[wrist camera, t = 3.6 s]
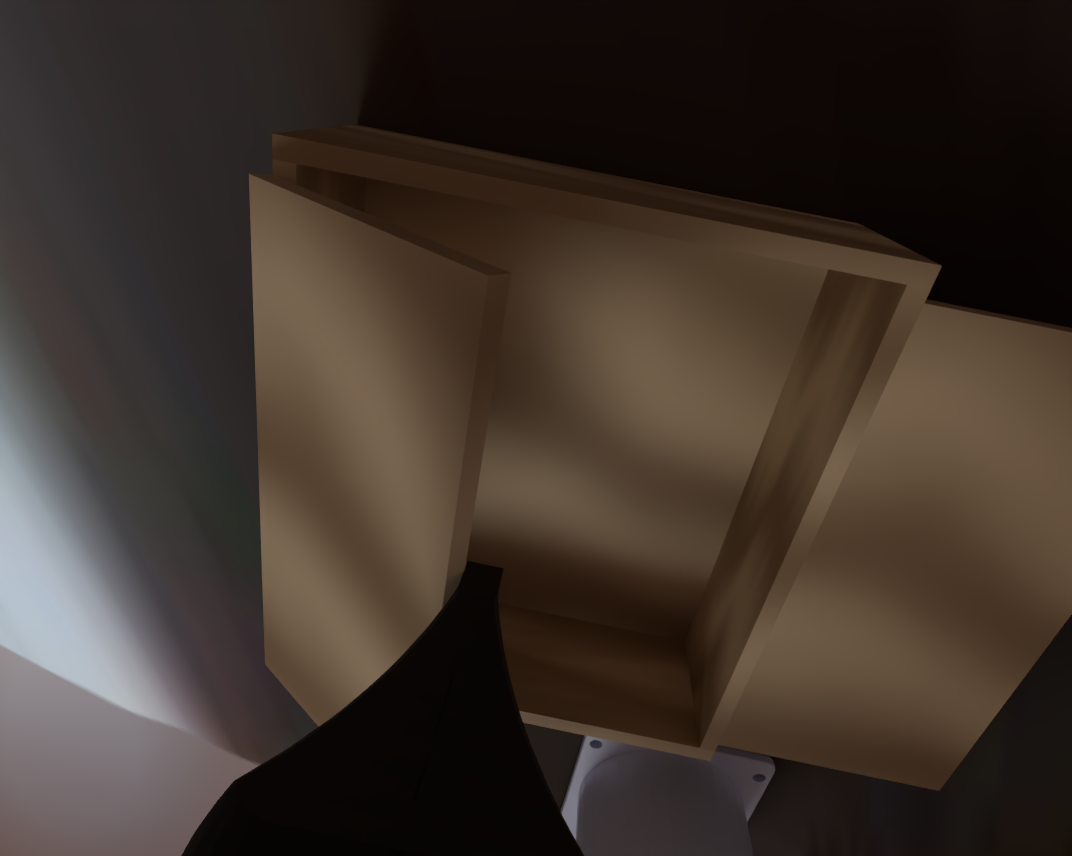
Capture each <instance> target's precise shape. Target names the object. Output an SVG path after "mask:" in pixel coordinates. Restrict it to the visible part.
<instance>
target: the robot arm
mask: <svg viewBox="0 0 1072 856" xmlns="http://www.w3.org/2000/svg"><path fill="white" fill-rule="evenodd" d="M503 569H504V568H500V567H495V566H490V565H485V564H481V563H476V562H471V561H468V562H467V564H466V567H465V571H464V572H463V574H462V577H461V580H460V583H459V586H458V587H457V589H456V590H455V592H454V593H453V595H452V596H451V597H450V599H449V600H448V602H447V603H446V604H445V606H444V607H443V608H442V609H441V611H440V612H439V613H438V614H437V616H436V617H435V618H434V620H433V621H432V622H431V623H430V625H429V626H428V627H427V628H426V629H425V631H424V632H423V633H422V634H421V635H420V636H419V637H418V638H417V639H416V640H415V642H414V643H413V644H412V645H411V646H410V647H409V648H408V649H407V650H406V651H405V653H404V654H403V655H402V656H401V657H400V658H399V659H398V660H397V661H396V662H395V663H394V664H393V665H392V666H391V667H390V668H389V669H388V670H387V671H386V672H385V673H384V674H382V675H381V676H380V677H379V678H378V679H377V680H376V681H375V682H374V683H373V684H372V685H370V686H369V687H368V688H367V689H366V690H365V691H364V692H362V693H361V694H360V695H359V696H358V697H356V698H355V699H354V700H353V701H352V702H350V703H349V704H348V705H347V706H346V707H344V708H343V709H342V710H341V711H339V712H338V713H337V714H336V715H334V716H333V717H332V718H330V719H329V720H328V721H326V722H325V723H323V724H322V725H320V726H319V727H318V728H316V729H315V730H313V731H312V732H311V733H309V734H308V735H306V736H305V737H304V738H302V739H301V740H299V741H298V742H296V743H295V744H294V745H292V746H291V747H289V748H288V749H286V750H284V751H283V752H281V753H280V754H278V755H276V756H275V757H273V758H271V759H270V760H268V761H266V762H265V763H263V764H261V765H260V766H258V767H256V768H255V769H253V770H251V771H250V772H248V773H247V774H245V775H243V776H241V777H240V778H238V779H237V780H235V781H234V782H233V783H232V784H231V785H230V787H229V788H228V789H227V790H226V791H225V792H224V794H223V795H222V796H221V797H220V799H219V800H218V801H217V802H216V804H215V805H214V806H213V808H212V809H211V810H210V812H209V813H208V814H207V816H206V817H205V819H204V820H203V821H202V823H201V824H200V826H199V827H198V828H197V830H196V832H195V833H194V835H193V836H192V838H191V840H190V841H189V843H188V845H187V847H186V848H185V850H184V852H183V854H182V856H753V851H752V846H751V840H750V835H749V830H748V825H747V822H748V820H749V818H750V816H751V815H752V813H753V811H754V809H755V807H756V805H757V804H758V802H759V800H760V798H761V796H762V794H763V793H764V791H765V789H766V787H767V785H768V783H769V782H770V780H771V778H772V776H773V774H774V772H775V765H774V762H773V759H771V758H770V757H768V756H766V755H761V754H756V753H752V752H747V751H742V750H737V749H732V748H727V747H723V746H717V749H716V751H715V753H714V755H713V757H712V759H711V761H707V760H702V759H697V758H692V757H688V756H683V755H678V754H673V753H668V752H663V751H659V750H654V749H649V748H644V747H639V746H634V745H630V744H625V743H620V742H615V741H610V740H605V739H601V738H596V737H591V736H586V735H584V738H583V741H582V745H581V748H580V751H579V754H578V757H577V760H576V764H575V767H574V770H573V773H572V776H571V779H570V783H569V786H568V789H567V792H566V795H565V798H564V802H563V805H562V808H561V811H560V810H559V808H558V806H557V804H556V802H555V799H554V797H553V795H552V793H551V791H550V789H549V787H548V785H547V782H546V780H545V778H544V775H543V773H542V770H541V768H540V766H539V763H538V761H537V758H536V756H535V754H534V751H533V749H532V747H531V744H530V741H529V738H528V735H527V733H526V730H525V727H524V724H523V721H522V718H521V715H520V712H519V708H518V705H517V702H516V698H515V695H514V691H513V687H512V683H511V679H510V675H509V671H508V666H507V662H506V657H505V651H504V646H503V639H502V633H501V626H500V617H499V604H498V594H499V589H500V584H501V579H502V574H503Z"/></svg>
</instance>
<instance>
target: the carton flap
mask: <svg viewBox="0 0 1072 856" xmlns="http://www.w3.org/2000/svg"><path fill="white" fill-rule="evenodd" d="M249 189H250V219H251V249H252V280H253V310H254V340H255V371H256V401H257V431H258V461H259V492H260V522H261V552H262V583H263V613H264V643H265V665H266V666H267V667H268V668H269V669H270V670H271V672H272V673H273V674H274V675H275V676H276V677H277V679H278V680H279V681H280V682H281V683H282V684H283V686H284V687H285V688H286V689H287V690H288V691H289V693H290V694H291V695H292V696H293V697H294V698H295V700H296V701H297V702H298V703H299V704H300V705H301V707H302V708H303V709H304V710H305V711H306V712H307V714H308V715H309V716H310V717H311V718H312V719H313V721H314V722H315V723H316V724H317V725H318V726H320V725H322V724H323V723H325V722H326V721H328V720H329V719H330V718H332V717H333V716H334V715H336V714H337V713H338V712H339V711H341V710H342V709H343V708H344V707H346V706H347V705H348V704H349V703H350V702H352V701H353V700H354V699H355V698H356V697H358V696H359V695H360V694H361V693H362V692H364V691H365V690H366V689H367V688H368V687H369V686H370V685H372V684H373V683H374V682H375V681H376V680H377V679H378V678H379V677H380V676H381V675H382V674H384V673H385V672H386V671H387V670H388V669H389V668H390V667H391V666H392V665H393V664H394V663H395V662H396V661H397V660H398V659H399V658H400V657H401V656H402V655H403V654H404V653H405V651H406V650H407V649H408V648H409V647H410V646H411V645H412V644H413V643H414V642H415V640H416V639H417V638H418V637H419V636H420V635H421V634H422V633H423V632H424V631H425V629H426V628H427V627H428V626H429V625H430V623H431V622H432V621H433V620H434V618H435V617H436V616H437V614H438V613H439V612H440V611H441V609H442V608H443V607H444V606H445V604H446V603H447V602H448V600H449V599H450V597H451V596H452V595H453V593H454V592H455V590H456V589H457V587H458V586H459V583H460V580H461V577H462V574H463V572H464V571H465V566H466V560H467V553H468V547H469V540H470V534H471V528H472V521H473V515H474V508H475V502H476V495H477V489H478V483H479V476H480V470H481V463H482V457H483V450H484V444H485V438H486V431H487V425H488V418H489V412H490V405H491V399H492V393H493V386H494V380H495V373H496V367H497V361H498V354H499V348H500V341H501V335H502V328H503V322H504V316H505V309H506V303H507V296H508V290H509V283H510V277H511V273H509V272H507V271H505V270H502V269H500V268H497V267H495V266H492V265H490V264H488V263H485V262H483V261H480V260H478V259H475V258H473V257H471V256H468V255H466V254H463V253H461V252H459V251H456V250H454V249H451V248H449V247H446V246H444V245H442V244H439V243H437V242H434V241H432V240H429V239H427V238H425V237H422V236H420V235H417V234H415V233H412V232H410V231H408V230H405V229H403V228H400V227H398V226H396V225H393V224H391V223H388V222H386V221H383V220H381V219H379V218H376V217H374V216H371V215H369V214H366V213H364V212H362V211H359V210H357V209H354V208H352V207H349V206H347V205H345V204H342V203H340V202H337V201H335V200H333V199H330V198H328V197H325V196H323V195H320V194H318V193H316V192H313V191H311V190H308V189H306V188H303V187H301V186H299V185H296V184H294V183H291V182H289V181H286V180H284V179H282V178H279V177H277V176H274V175H272V174H249Z"/></svg>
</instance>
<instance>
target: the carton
mask: <svg viewBox="0 0 1072 856" xmlns="http://www.w3.org/2000/svg"><path fill="white" fill-rule="evenodd" d="M272 148H273V175H274V176H277V177H279V178H282V179H284V180H286V181H289V182H291V183H294V184H296V185H299V186H301V187H303V188H306V189H308V190H311V191H313V192H316V193H318V194H320V195H323V196H325V197H328V198H330V199H333V200H335V201H337V202H340V203H342V204H345V205H347V206H349V207H352V208H354V209H357V210H359V211H362V212H364V213H366V214H369V215H371V216H374V217H376V218H379V219H381V220H383V221H386V222H388V223H391V224H393V225H396V226H398V227H400V228H403V229H405V230H408V231H410V232H412V233H415V234H417V235H420V236H422V237H425V238H427V239H429V240H432V241H434V242H437V243H439V244H442V245H444V246H446V247H449V248H451V249H454V250H456V251H459V252H461V253H463V254H466V255H468V256H471V257H473V258H475V259H478V260H480V261H483V262H485V263H488V264H490V265H492V266H495V267H497V268H500V269H502V270H505V271H507V272H509V273H511V277H510V283H509V290H508V296H507V303H506V309H505V316H504V322H503V328H502V335H501V341H500V348H499V354H498V361H497V367H496V373H495V380H494V386H493V393H492V399H491V405H490V412H489V418H488V425H487V431H486V438H485V444H484V450H483V457H482V463H481V470H480V476H479V483H478V489H477V495H476V502H475V508H474V515H473V521H472V528H471V534H470V540H469V547H468V553H467V560H466V564H467V562H468V561H471V562H476V563H481V564H485V565H490V566H495V567H500V568H504V569H503V574H502V579H501V584H500V589H499V594H498V604H499V617H500V626H501V633H502V639H503V646H504V651H505V657H506V662H507V666H508V671H509V675H510V679H511V683H512V687H513V691H514V695H515V698H516V702H517V705H518V708H519V712H520V715H521V718H522V721H523V723H528V724H533V725H538V726H543V727H547V728H552V729H557V730H562V731H567V732H572V733H576V734H581V735H586V736H591V737H596V738H601V739H605V740H610V741H615V742H620V743H625V744H630V745H634V746H639V747H644V748H649V749H654V750H659V751H663V752H668V753H673V754H678V755H683V756H688V757H692V758H697V759H702V760H707V761H711V759H712V757H713V755H714V753H715V751H716V749H717V746H718V745H720V746H725V747H730V748H735V749H740V750H744V751H749V752H754V753H759V754H764V755H769V756H773V757H778V758H783V759H788V760H793V761H798V762H803V763H807V764H812V765H817V766H822V767H827V768H832V769H836V770H841V771H846V772H851V773H856V774H861V775H866V776H870V777H875V778H880V779H885V780H890V781H895V782H899V783H904V784H909V785H914V786H919V787H924V788H928V789H933V790H938V791H939V790H940V789H941V788H942V786H943V785H944V784H945V782H946V781H947V780H948V778H949V777H950V776H951V774H952V773H953V772H954V770H955V769H956V768H957V766H958V765H959V764H960V762H961V761H962V760H963V758H964V757H965V756H966V754H967V753H968V752H969V750H970V749H971V748H972V746H973V745H974V744H975V742H976V741H977V740H978V738H979V737H980V736H981V734H982V733H983V732H984V730H985V729H986V728H987V726H988V725H989V724H990V722H991V721H992V720H993V718H994V717H995V716H996V714H997V713H998V712H999V710H1000V709H1001V708H1002V706H1003V705H1004V704H1005V702H1006V701H1007V700H1008V698H1009V697H1010V696H1011V694H1012V693H1013V692H1014V690H1015V689H1016V688H1017V686H1018V685H1019V684H1020V682H1021V681H1022V680H1023V678H1024V677H1025V676H1026V674H1027V673H1028V672H1029V670H1030V669H1031V668H1032V666H1033V665H1034V664H1035V662H1036V661H1037V660H1038V658H1039V657H1040V656H1041V654H1042V653H1043V652H1044V650H1045V649H1046V648H1047V646H1048V645H1049V644H1050V642H1051V641H1052V640H1053V638H1054V637H1055V636H1056V634H1057V633H1058V632H1059V630H1060V629H1061V628H1062V626H1063V625H1064V624H1065V622H1066V621H1067V620H1068V618H1069V617H1070V616H1071V614H1072V328H1069V327H1064V326H1059V325H1054V324H1049V323H1044V322H1039V321H1034V320H1029V319H1024V318H1019V317H1014V316H1009V315H1003V314H998V313H993V312H988V311H983V310H978V309H973V308H968V307H963V306H958V305H953V304H948V303H943V302H938V301H933V300H928V299H927V297H928V295H929V292H930V290H931V288H932V286H933V284H934V282H935V280H936V277H937V275H938V273H939V271H940V269H941V267H942V266H941V265H939V264H938V263H936V262H934V261H932V260H930V259H928V258H926V257H924V256H922V255H920V254H918V253H916V252H914V251H912V250H910V249H908V248H906V247H904V246H902V245H900V244H898V243H896V242H894V241H892V240H890V239H888V238H886V237H884V236H882V235H880V234H878V233H876V232H874V231H872V230H870V229H869V228H867V227H865V226H863V225H861V224H859V223H854V222H849V221H844V220H838V219H833V218H828V217H823V216H818V215H813V214H808V213H803V212H798V211H793V210H788V209H783V208H778V207H772V206H767V205H762V204H757V203H752V202H747V201H742V200H737V199H732V198H727V197H722V196H717V195H712V194H707V193H701V192H696V191H691V190H686V189H681V188H676V187H671V186H666V185H661V184H656V183H651V182H646V181H641V180H636V179H630V178H625V177H620V176H615V175H610V174H605V173H600V172H595V171H590V170H585V169H580V168H575V167H570V166H565V165H559V164H554V163H549V162H544V161H539V160H534V159H529V158H524V157H519V156H514V155H509V154H504V153H499V152H494V151H488V150H483V149H478V148H473V147H468V146H463V145H458V144H453V143H448V142H443V141H438V140H433V139H428V138H422V137H417V136H412V135H407V134H402V133H397V132H392V131H387V130H382V129H377V128H372V127H367V126H362V125H357V124H356V125H346V126H337V127H328V128H318V129H309V130H300V131H290V132H281V133H272ZM465 567H466V566H465Z"/></svg>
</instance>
